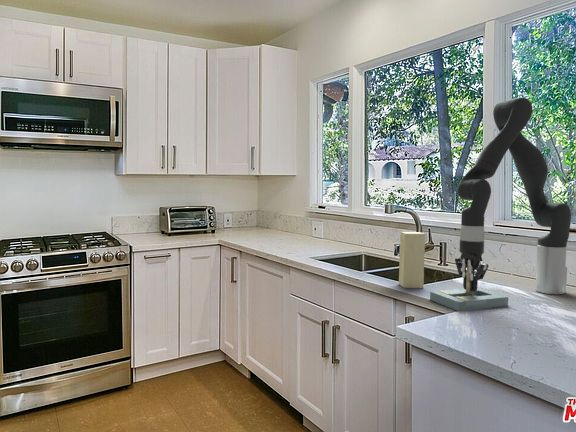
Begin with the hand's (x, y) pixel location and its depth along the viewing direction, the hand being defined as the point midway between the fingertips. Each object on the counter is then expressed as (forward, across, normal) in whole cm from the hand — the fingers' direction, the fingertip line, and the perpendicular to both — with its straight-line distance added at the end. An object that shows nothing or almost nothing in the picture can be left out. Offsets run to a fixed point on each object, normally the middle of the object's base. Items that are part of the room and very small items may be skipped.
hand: (469, 289), depth 147 cm
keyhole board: (+4, 0, 0) cm, 4 cm away
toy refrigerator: (+5, +27, +4) cm, 28 cm away
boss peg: (+4, 0, 0) cm, 4 cm away
